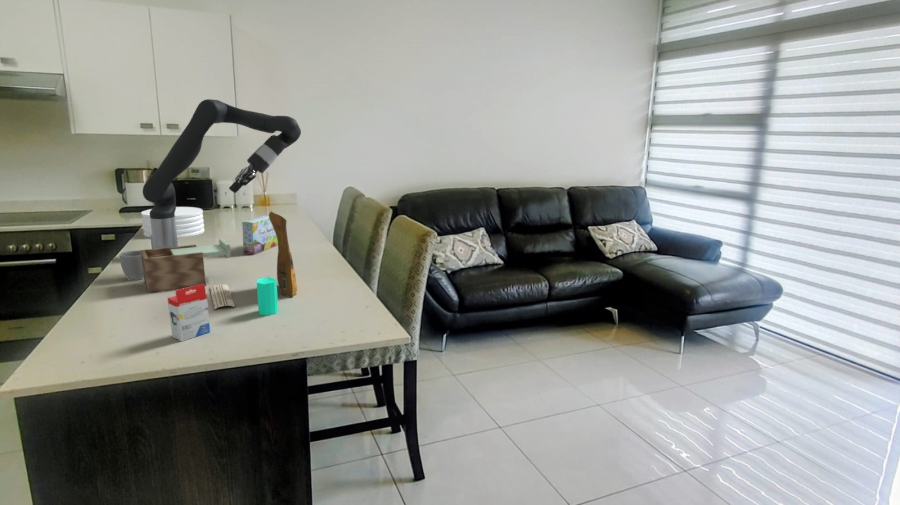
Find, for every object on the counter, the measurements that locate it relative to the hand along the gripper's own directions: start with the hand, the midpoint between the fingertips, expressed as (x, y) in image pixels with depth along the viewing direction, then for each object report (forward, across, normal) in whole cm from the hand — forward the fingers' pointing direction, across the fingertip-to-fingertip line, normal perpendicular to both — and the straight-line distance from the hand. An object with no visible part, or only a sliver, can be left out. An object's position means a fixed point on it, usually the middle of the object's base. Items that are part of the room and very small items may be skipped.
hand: (232, 190), depth 193 cm
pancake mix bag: (+17, +34, +28) cm, 48 cm away
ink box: (+41, +59, +4) cm, 72 cm away
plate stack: (+31, -86, +15) cm, 93 cm away
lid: (+26, +8, +6) cm, 28 cm away
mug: (+47, -8, -2) cm, 48 cm away
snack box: (+10, -29, +35) cm, 47 cm away
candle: (+25, +52, +21) cm, 61 cm away
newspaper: (+32, +31, +15) cm, 47 cm away
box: (+39, +8, +6) cm, 40 cm away
